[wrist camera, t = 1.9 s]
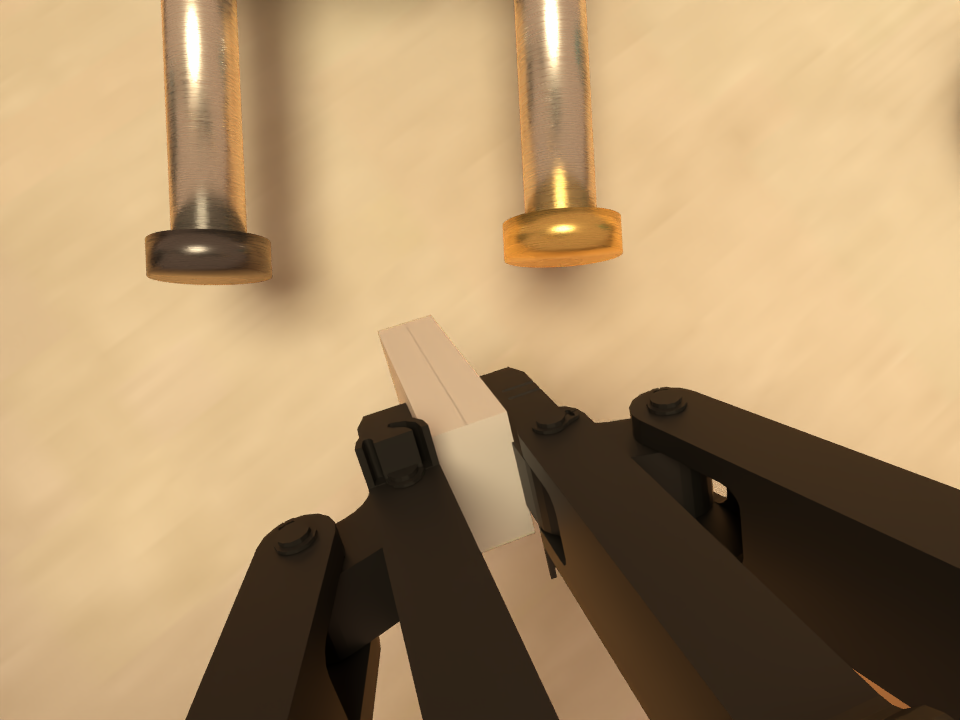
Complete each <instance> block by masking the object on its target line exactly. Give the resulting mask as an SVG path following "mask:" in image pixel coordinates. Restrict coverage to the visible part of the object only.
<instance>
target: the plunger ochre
mask: <svg viewBox="0 0 960 720" xmlns="http://www.w3.org/2000/svg"><path fill="white" fill-rule="evenodd" d="M514 9H515V28H516V48H517V67H518V87H519V106H520V126H521V145H522V165H523V184H524V204H525V214H521V215H518V216H515V217H513V218H510V219H508V220H507V221H505V222H504V223H503V241H504V261H505V263H507V264H509V265H513V266H520V267H565V266H576V265H584V264H591V263H597V262H602V261H606V260H610V259H613V258H616V257H618V256H620V255H622V253H623V248H622V229H621V215H620V214H619V213H618V212H616V211H613V210H610V209H605V208H597V205H596V186H595V167H594V148H593V130H592V111H591V92H590V73H589V54H588V35H587V16H586V0H514Z"/></svg>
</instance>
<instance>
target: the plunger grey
mask: <svg viewBox="0 0 960 720" xmlns="http://www.w3.org/2000/svg"><path fill="white" fill-rule="evenodd" d="M161 14H162V37H163V61H164V84H165V108H166V131H167V155H168V178H169V202H170V225H171V230H167V231H161V232H156V233H153V234H150V235H148V236H146V238H145V251H146V275H147V277H148V278H150V279H153V280H157V281H163V282H169V283H179V284H193V285H235V284H248V283H256V282H262V281H266V280H269V279H271V278H272V265H271V243H270V241H269V240H268V239H267V238H264V237H262V236H259V235H255V234H251V233H247V224H246V202H245V179H244V157H243V134H242V112H241V89H240V67H239V44H238V22H237V0H161Z"/></svg>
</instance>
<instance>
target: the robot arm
mask: <svg viewBox="0 0 960 720" xmlns="http://www.w3.org/2000/svg"><path fill="white" fill-rule="evenodd" d="M378 334H379V338H380V341H381V344H382V348H383V351H384V354H385V357H386V361H387V364H388V367H389V370H390V374H391V377H392V380H393V383H394V387H395V390H396V393H397V396H398V400H399V403H400V405H397V406H394V407H391V408H388V409H385V410H382V411H379V412H376V413H373V414H370V415H367V416H364V417H363V419H362V421H361V423H360V425H359V427H358V429H357V430H358V435H359V439H358V441H357V442H356V446H355V452H356V455H357V457H358V460H359V463H360V466H361V469H362V472H363V475H364V477H365V480H366V483H367V486H368V489H369V496H368V498H367V499H366V501H365V502H364V503H363V505H362V506H361V507H359V508H358V509H357V510H356V511H355V512H354V513H352V514H351V515H349V516H348V517H346V518H345V519H343V520H341V521H340V522H338V523H336V524H335V522H334V521H333V520H332V519H331V518H330V517H329V516H326V515H322V514H309V515H303V516H300V517H297V518H292V519H290V520H288V521H285V523H282V524H280V525H279V526H277V527H276V528H275V529H273V530H272V531H271V532H270V533H269V534H268V535H266V536H265V537H264V538H263V540H262V541H261V543H260V544H259V546H258V547H257V549H256V552H255V554H254V556H253V559H252V561H251V564H250V566H249V568H248V571H247V573H246V576H245V578H244V580H243V583H242V585H241V587H240V590H239V592H238V595H237V597H236V599H235V602H234V604H233V607H232V609H231V611H230V614H229V616H228V619H227V621H226V623H225V626H224V628H223V631H222V633H221V635H220V638H219V640H218V643H217V645H216V647H215V650H214V652H213V655H212V657H211V659H210V662H209V664H208V667H207V669H206V671H205V674H204V676H203V679H202V681H201V683H200V686H199V688H198V691H197V693H196V695H195V698H194V700H193V703H192V705H191V707H190V710H189V712H188V715H187V717H186V719H185V720H372V718H373V709H374V701H375V692H376V684H377V676H378V667H379V659H380V650H381V647H380V639H379V635H381V634H382V633H384V632H385V631H386V630H388V629H389V628H391V627H392V626H394V625H395V624H396V623H398V622H399V621H400V625H401V629H402V633H403V637H404V642H405V646H406V650H407V654H408V659H409V663H410V667H411V671H412V676H413V680H414V684H415V688H416V693H417V697H418V701H419V705H420V710H421V714H422V718H423V720H559V718H558V716H557V714H556V712H555V710H554V708H553V705H552V703H551V701H550V699H549V697H548V695H547V693H546V691H545V688H544V686H543V684H542V682H541V680H540V678H539V676H538V673H537V671H536V669H535V667H534V665H533V663H532V661H531V658H530V656H529V654H528V652H527V650H526V648H525V646H524V643H523V641H522V639H521V637H520V635H519V633H518V631H517V628H516V626H515V624H514V622H513V620H512V618H511V616H510V613H509V611H508V609H507V607H506V605H505V603H504V601H503V599H502V596H501V594H500V592H499V590H498V588H497V586H496V584H495V581H494V579H493V577H492V575H491V573H490V571H489V569H488V566H487V564H486V562H485V560H484V558H483V556H482V554H481V553H483V552H486V551H488V550H491V549H494V548H496V547H499V546H502V545H504V544H507V543H509V542H512V541H515V540H517V539H520V538H523V537H525V536H528V535H530V534H533V533H535V530H534V526H533V522H532V518H531V513H532V515H533V516H534V518H535V520H536V521H537V523H538V524H539V528H540V533H541V537H542V541H543V546H544V550H545V554H546V559H547V563H548V568H549V572H550V575H551V579H554V578H556V577H557V575H556V571H555V568H557V569H558V571H559V573H560V574H561V576H562V577H563V579H564V581H565V582H566V584H567V586H568V587H569V589H570V590H571V592H572V594H573V595H574V597H575V599H576V600H577V602H578V603H579V605H580V607H581V608H582V610H583V612H584V613H585V615H586V617H587V618H588V620H589V621H590V623H591V625H592V626H593V628H594V630H595V631H596V633H597V634H598V636H599V638H600V639H601V641H602V643H603V644H604V646H605V647H606V649H607V651H608V652H609V654H610V656H611V657H612V659H613V660H614V662H615V664H616V665H617V667H618V669H619V670H620V672H621V674H622V675H623V677H624V678H625V680H626V682H627V683H628V685H629V687H630V688H631V690H632V691H633V693H634V695H635V696H636V698H637V700H638V701H639V703H640V704H641V706H642V708H643V709H644V711H645V713H646V714H647V716H648V717H649V719H650V720H960V490H959V489H956V488H954V487H951V486H948V485H945V484H943V483H940V482H937V481H935V480H932V479H929V478H927V477H924V476H921V475H918V474H916V473H913V472H910V471H908V470H905V469H902V468H900V467H897V466H894V465H892V464H889V463H886V462H883V461H881V460H878V459H875V458H873V457H870V456H867V455H865V454H862V453H859V452H857V451H854V450H851V449H848V448H846V447H843V446H840V445H838V444H835V443H832V442H830V441H827V440H824V439H821V438H819V437H816V436H813V435H811V434H808V433H805V432H803V431H800V430H797V429H795V428H792V427H789V426H786V425H784V424H781V423H778V422H776V421H773V420H770V419H768V418H765V417H762V416H760V415H757V414H754V413H751V412H749V411H746V410H743V409H741V408H738V407H735V406H733V405H730V404H727V403H725V402H722V401H719V400H716V399H714V398H711V397H708V396H706V395H703V394H700V393H698V392H695V391H692V390H688V389H683V388H670V387H662V388H660V389H659V388H657V389H653V390H651V391H648V392H646V393H643V394H641V395H639V396H638V397H637V398H635V399H634V400H633V401H632V403H631V405H630V407H629V409H630V416H631V419H624V420H618V421H612V422H603V423H594V422H593V421H592V420H591V419H590V418H589V417H588V416H587V415H586V414H585V413H583V412H581V411H580V410H578V409H576V408H571V407H565V406H563V407H558V406H557V405H556V404H555V403H554V402H553V401H552V400H551V399H550V398H549V397H548V396H547V395H546V394H545V393H544V392H543V391H542V390H541V389H540V388H539V387H538V386H537V385H536V384H535V383H534V382H533V381H532V380H531V379H530V378H529V377H528V376H527V375H526V373H525V372H523V371H519V370H516V369H513V368H510V367H507V368H504V369H501V370H498V371H495V372H492V373H489V374H486V375H483V376H480V377H479V375H478V374H477V373H476V372H475V370H474V369H473V368H472V367H471V365H470V364H469V363H468V362H467V360H466V359H465V358H464V356H463V355H462V354H461V353H460V351H459V350H458V349H457V348H456V346H455V345H454V344H453V342H452V341H451V340H450V339H449V337H448V336H447V335H446V334H445V332H444V331H443V330H442V328H441V327H440V326H439V325H438V323H437V322H436V321H435V320H434V318H433V317H432V316H431V315H429V316H426V317H422V318H419V319H416V320H413V321H409V322H406V323H403V324H400V325H396V326H393V327H390V328H387V329H383V330H380V331H378ZM712 479H714V480H716V481H718V482H720V483H721V484H723V485H724V486H725V487H727V498H726V497H723V496H721V495H719V494H717V493H715V492H713V484H712ZM530 512H531V513H530ZM852 668H853V669H854V670H856V671H857V672H859V673H860V674H862V675H863V676H865V677H866V678H868V679H869V680H871V681H872V682H874V683H875V684H877V685H878V686H880V687H881V688H883V689H884V690H886V691H887V692H889V693H890V694H892V695H893V696H895V697H896V698H898V699H899V700H901V701H902V702H904V703H905V704H907V705H908V706H910V707H911V708H907V709H901V708H899V707H896V706H894V705H892V704H891V703H889V702H888V701H887V700H886V699H884V698H883V697H882V696H880V695H879V694H878V693H877V692H876V691H875V690H874V689H873V688H872V687H871V686H870V685H869V684H868V683H867V682H866V681H865V680H863V678H861V677H860V676H859V675H858V674H857V673H856V672H855V671H854V670H853V669H852Z"/></svg>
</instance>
